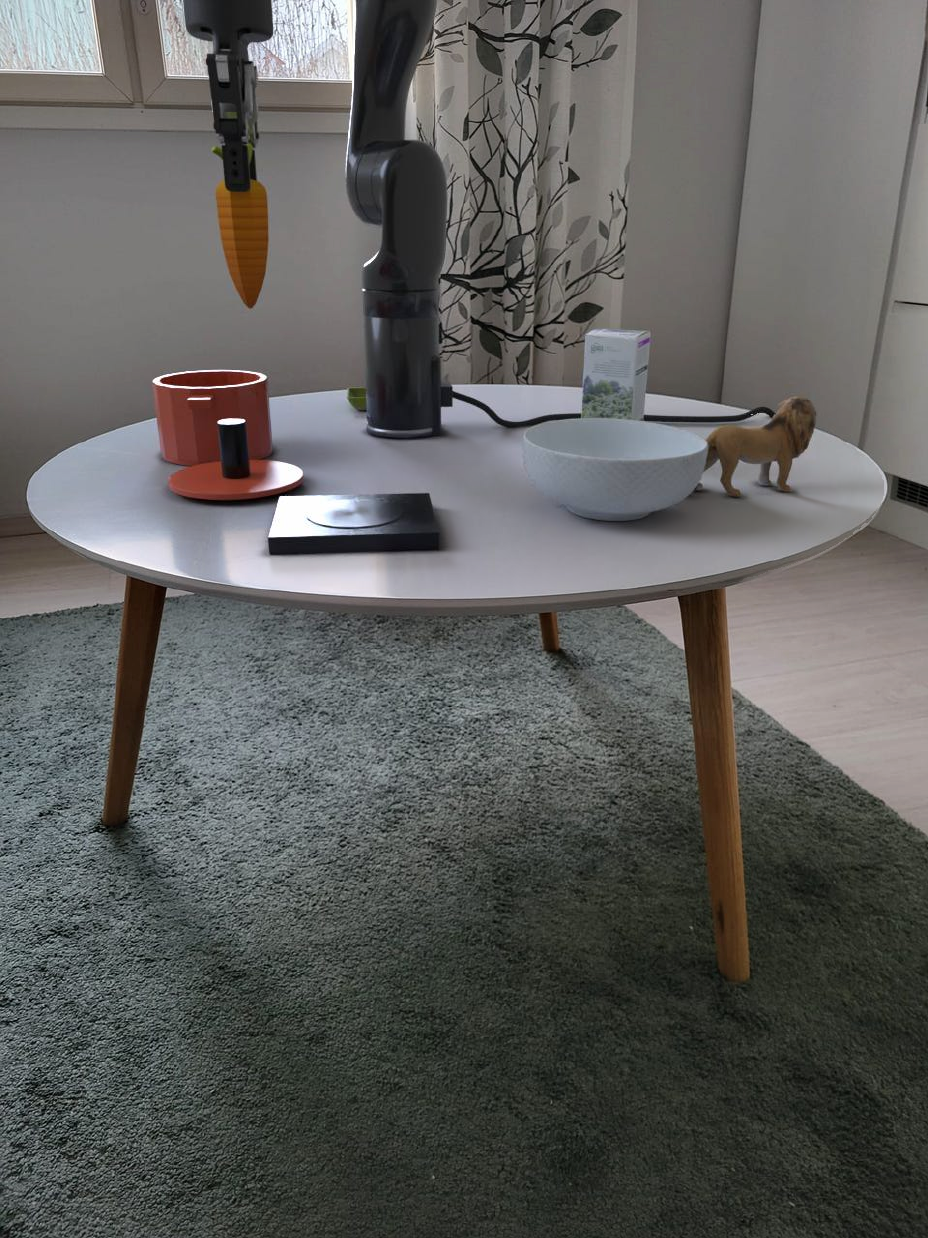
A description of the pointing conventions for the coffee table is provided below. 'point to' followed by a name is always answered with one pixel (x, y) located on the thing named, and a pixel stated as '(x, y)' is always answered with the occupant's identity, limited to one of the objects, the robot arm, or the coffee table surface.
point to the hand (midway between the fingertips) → (242, 191)
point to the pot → (210, 413)
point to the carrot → (244, 234)
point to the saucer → (357, 397)
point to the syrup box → (615, 374)
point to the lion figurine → (763, 444)
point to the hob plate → (353, 524)
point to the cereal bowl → (613, 465)
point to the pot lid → (235, 471)
